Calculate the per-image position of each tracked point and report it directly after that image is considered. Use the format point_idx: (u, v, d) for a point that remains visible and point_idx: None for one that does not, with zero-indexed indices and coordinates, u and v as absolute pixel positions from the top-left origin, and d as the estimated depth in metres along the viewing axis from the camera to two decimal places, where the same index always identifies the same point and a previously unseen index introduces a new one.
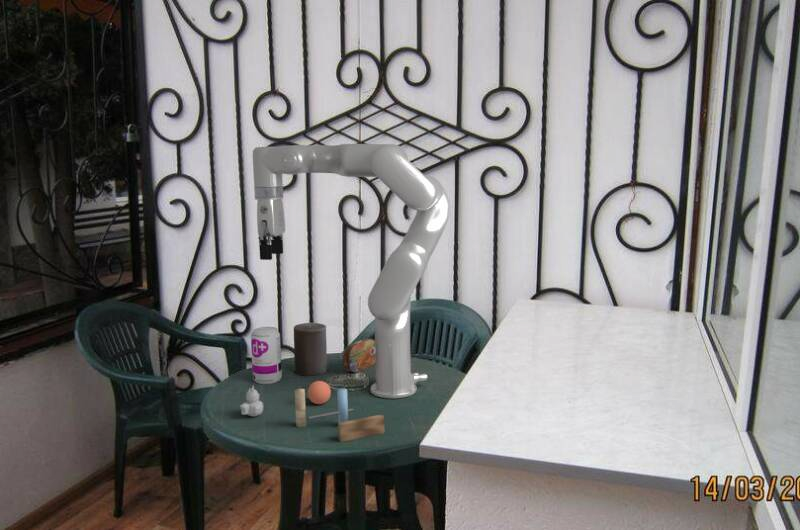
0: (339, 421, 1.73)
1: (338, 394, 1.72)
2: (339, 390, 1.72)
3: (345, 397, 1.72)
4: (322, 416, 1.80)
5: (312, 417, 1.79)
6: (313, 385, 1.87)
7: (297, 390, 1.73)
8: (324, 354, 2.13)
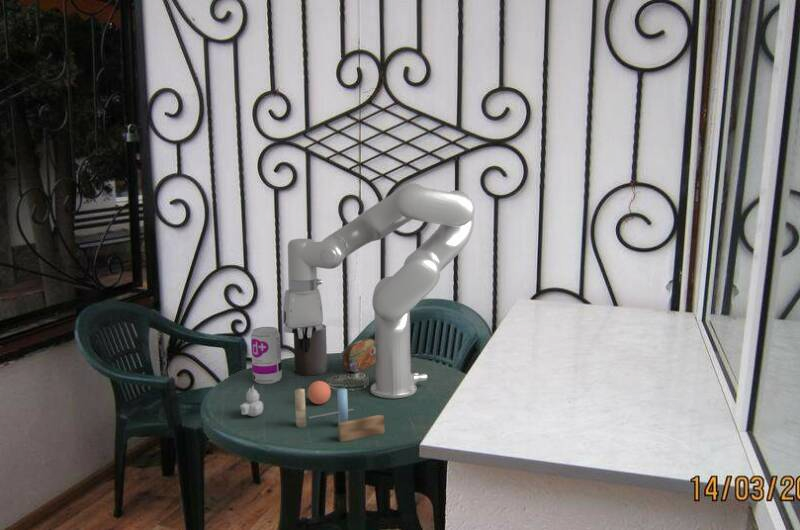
0: (339, 421, 1.73)
1: (338, 394, 1.72)
2: (339, 390, 1.72)
3: (345, 397, 1.72)
4: (322, 416, 1.80)
5: (312, 417, 1.79)
6: (313, 385, 1.87)
7: (297, 390, 1.73)
8: (324, 354, 2.13)
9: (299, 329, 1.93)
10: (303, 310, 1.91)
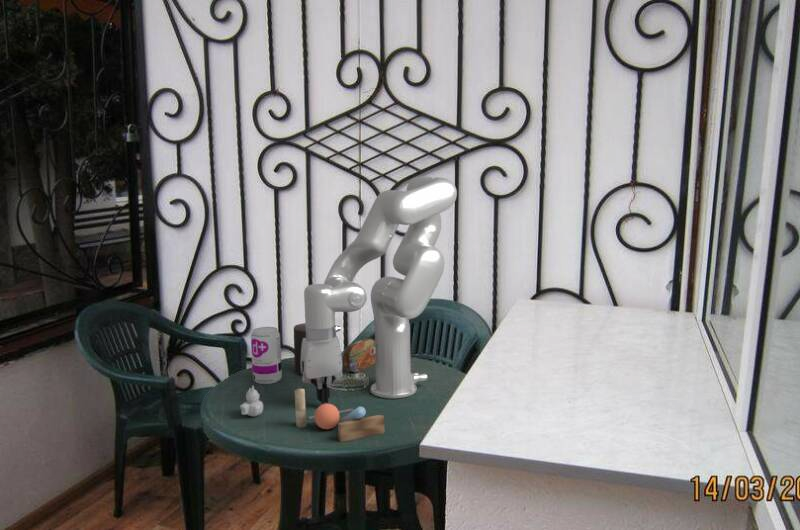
0: None
1: (355, 414, 1.67)
2: (358, 410, 1.66)
3: None
4: None
5: (312, 417, 1.79)
6: None
7: (297, 390, 1.73)
8: None
9: (318, 379, 1.83)
10: (322, 359, 1.82)
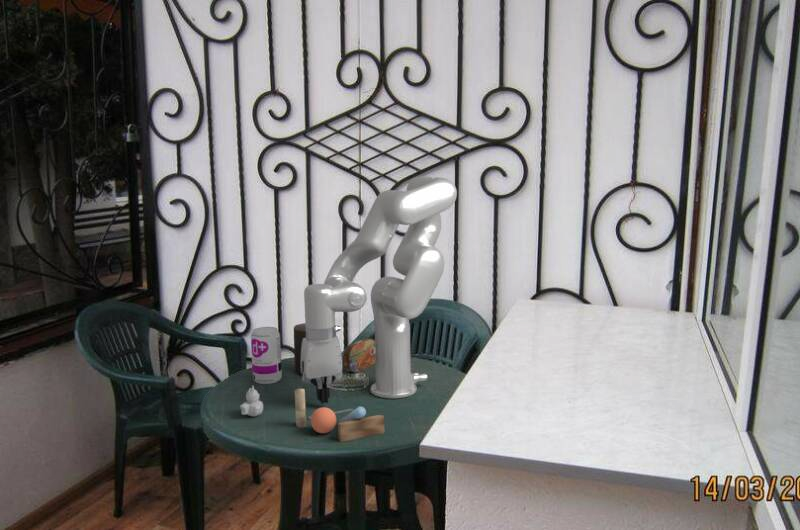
0: None
1: (355, 413, 1.67)
2: (358, 410, 1.66)
3: None
4: None
5: None
6: None
7: (297, 390, 1.73)
8: None
9: (318, 379, 1.83)
10: (322, 359, 1.82)
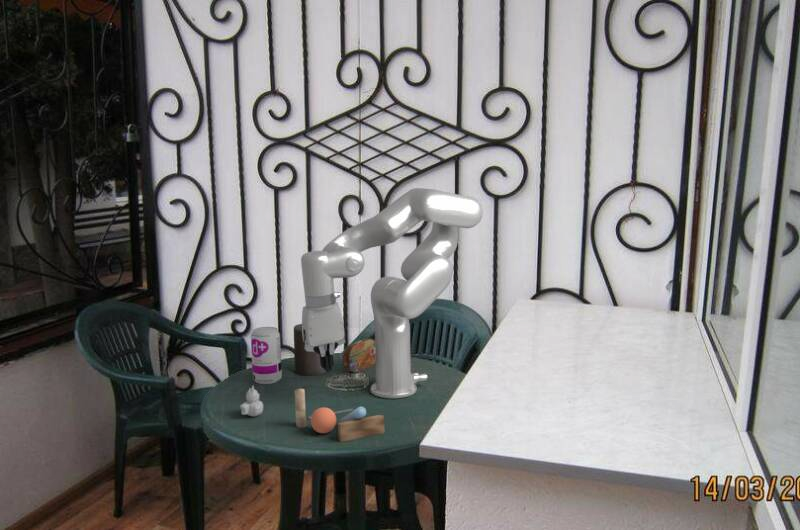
0: None
1: (356, 413, 1.67)
2: (359, 410, 1.67)
3: None
4: None
5: None
6: None
7: (297, 390, 1.73)
8: None
9: (321, 347, 1.82)
10: (323, 327, 1.81)
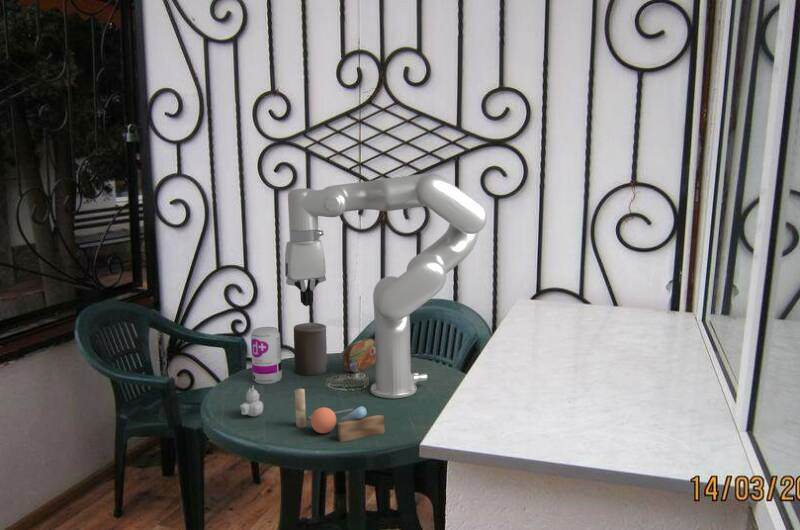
0: None
1: (356, 413, 1.67)
2: (359, 410, 1.67)
3: (360, 418, 1.68)
4: None
5: None
6: None
7: (297, 390, 1.73)
8: (324, 354, 2.13)
9: (302, 281, 1.88)
10: (305, 261, 1.86)
